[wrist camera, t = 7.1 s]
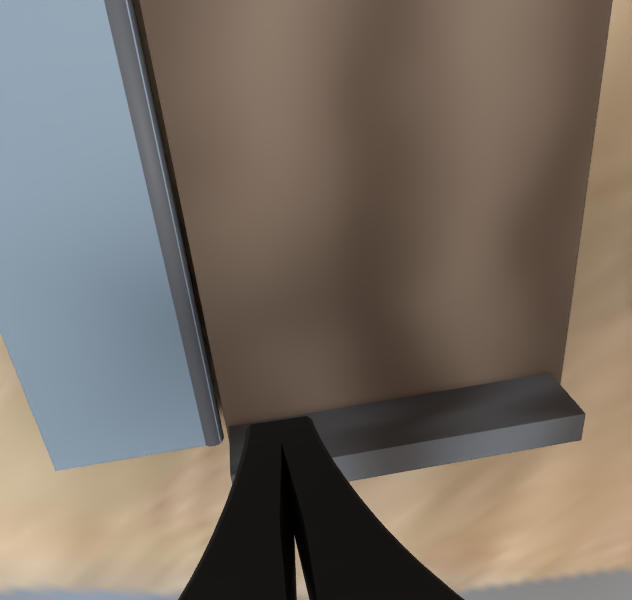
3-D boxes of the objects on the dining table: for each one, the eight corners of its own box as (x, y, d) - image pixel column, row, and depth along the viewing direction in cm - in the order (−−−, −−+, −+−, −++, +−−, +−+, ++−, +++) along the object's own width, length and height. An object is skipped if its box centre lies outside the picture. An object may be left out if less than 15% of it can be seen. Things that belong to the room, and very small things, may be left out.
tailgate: (84, -221, 13) (-215, -202, 12) (223, 444, 22) (54, 473, 21) (94, -203, 14) (-179, -185, 13) (223, 421, 23) (63, 448, 22)
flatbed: (602, -252, 16) (733, -335, 12) (534, 367, 25) (594, 437, 21) (104, -220, 14) (61, -300, 10) (230, 417, 24) (233, 501, 20)
